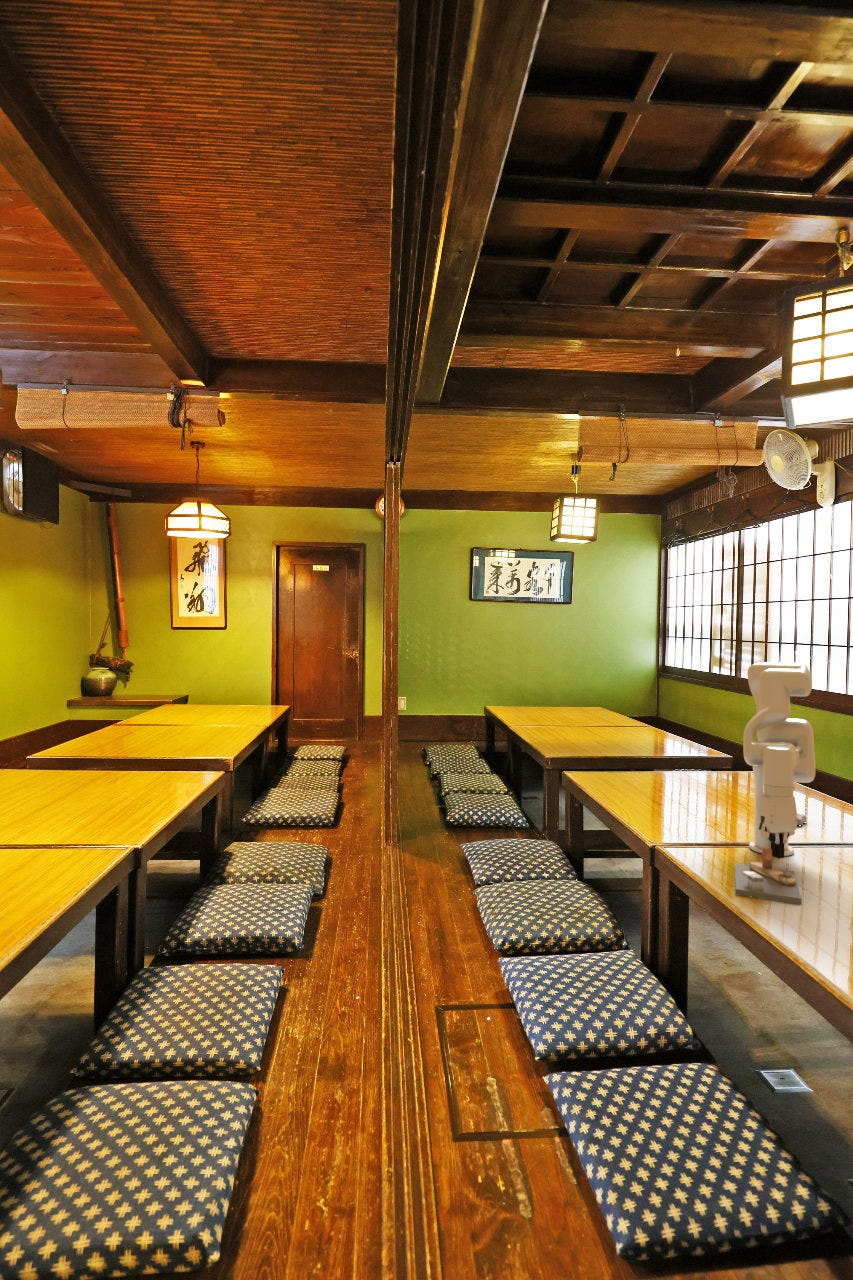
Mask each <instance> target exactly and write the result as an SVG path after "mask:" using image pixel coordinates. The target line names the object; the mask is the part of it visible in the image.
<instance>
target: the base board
mask: <svg viewBox="0 0 853 1280" xmlns="http://www.w3.org/2000/svg"><path fill="white" fill-rule="evenodd" d="M773 868H774V867H773ZM774 869H777V870H779V871H781V872H790V873H791V875H792V876H794V877H795V878H796V879H797V877H796V873H795V871H794V870H790V869H789V870H788V869H781V868H774ZM743 871H754V872H756V873H757V874H759V875H760V876H762V877H763V878H764V890H751V889H750V888H749V887H748V878H746V877H745V876H743V875H742V872H743ZM734 877H735V878H734V879H735V880H734V885H735V889H736V890H735V895H736V894H738V895H737V896H740V895H743V896H742V897H747V896H752V897H751V898H754V897H757V898H756V899H761V898H763V899H762V900H767V899H768V900H767V901H775V902H782V903H789V904H795V905H802V895H801V893H800V889H799V886H798V882H797V880H796V884H795V885H785V884H782V883H780V882H779V881H777V880H775V879H772V878H770V877H768V876H766V875H764V874H761V873H759V872H757V871H755V870H753V869H750V868H749V864H745V863H744V864H743V863H736V862H735V863H734Z"/></svg>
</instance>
